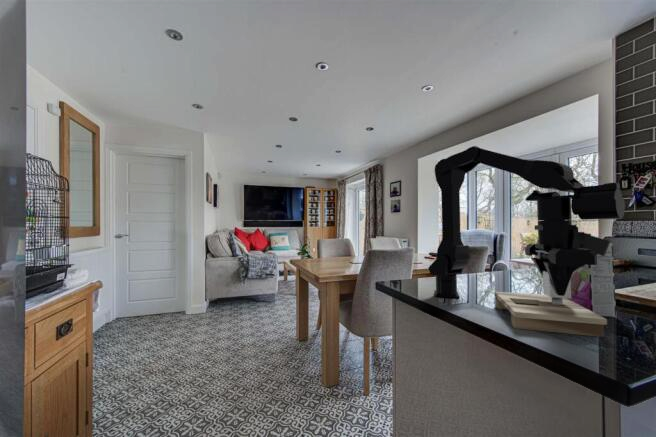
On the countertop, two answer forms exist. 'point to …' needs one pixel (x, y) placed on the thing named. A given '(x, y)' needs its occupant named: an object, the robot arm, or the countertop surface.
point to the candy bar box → (596, 286)
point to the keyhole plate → (550, 314)
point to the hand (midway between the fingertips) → (556, 293)
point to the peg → (551, 292)
